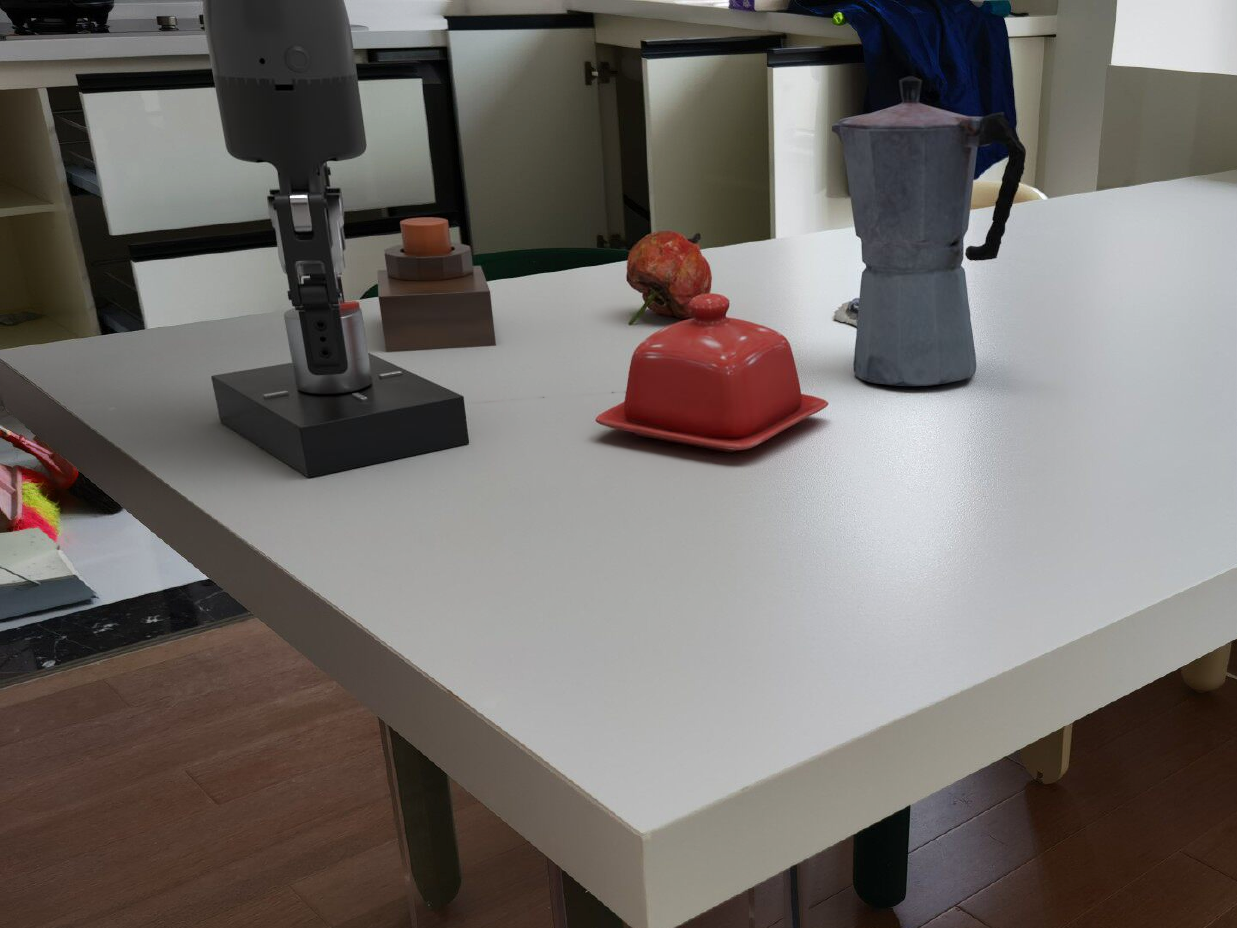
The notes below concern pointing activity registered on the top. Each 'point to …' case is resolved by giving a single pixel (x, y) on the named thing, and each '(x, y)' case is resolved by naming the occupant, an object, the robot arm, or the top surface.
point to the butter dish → (712, 383)
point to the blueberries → (848, 312)
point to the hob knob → (355, 349)
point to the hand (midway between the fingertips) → (330, 354)
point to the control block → (434, 301)
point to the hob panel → (341, 417)
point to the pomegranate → (668, 273)
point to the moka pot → (919, 234)
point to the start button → (425, 235)
